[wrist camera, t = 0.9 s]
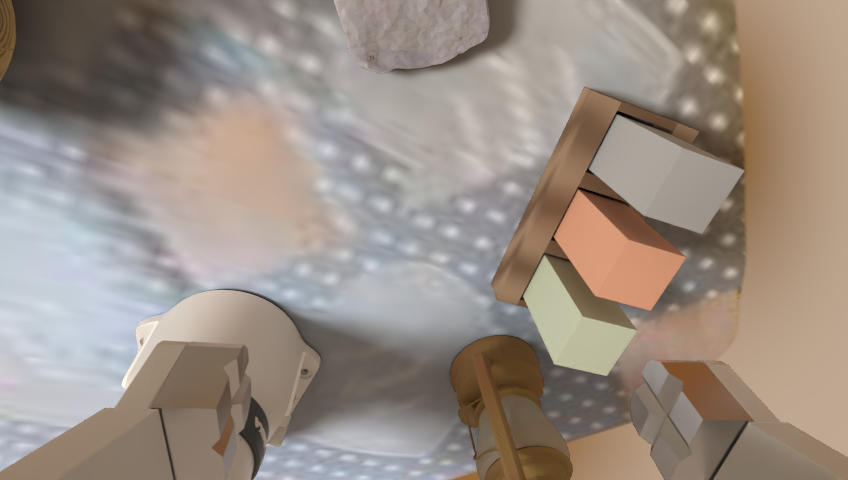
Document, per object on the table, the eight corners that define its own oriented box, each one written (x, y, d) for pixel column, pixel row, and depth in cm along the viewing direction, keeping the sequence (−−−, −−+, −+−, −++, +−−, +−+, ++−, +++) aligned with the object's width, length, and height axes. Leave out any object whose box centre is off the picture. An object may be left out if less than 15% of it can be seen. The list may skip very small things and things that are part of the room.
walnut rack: (573, 305, 51) (584, 321, 49) (490, 283, 49) (496, 300, 46) (679, 122, 43) (699, 131, 40) (584, 87, 40) (598, 93, 38)
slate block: (635, 184, 42) (702, 234, 33) (587, 168, 41) (643, 215, 32) (665, 132, 40) (744, 170, 31) (615, 113, 39) (683, 148, 30)
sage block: (565, 306, 48) (606, 376, 39) (522, 294, 47) (554, 364, 38) (588, 266, 46) (637, 330, 37) (543, 253, 45) (582, 316, 36)
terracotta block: (598, 249, 45) (650, 310, 36) (552, 235, 44) (595, 295, 35) (624, 203, 43) (686, 257, 34) (577, 188, 42) (628, 239, 33)
